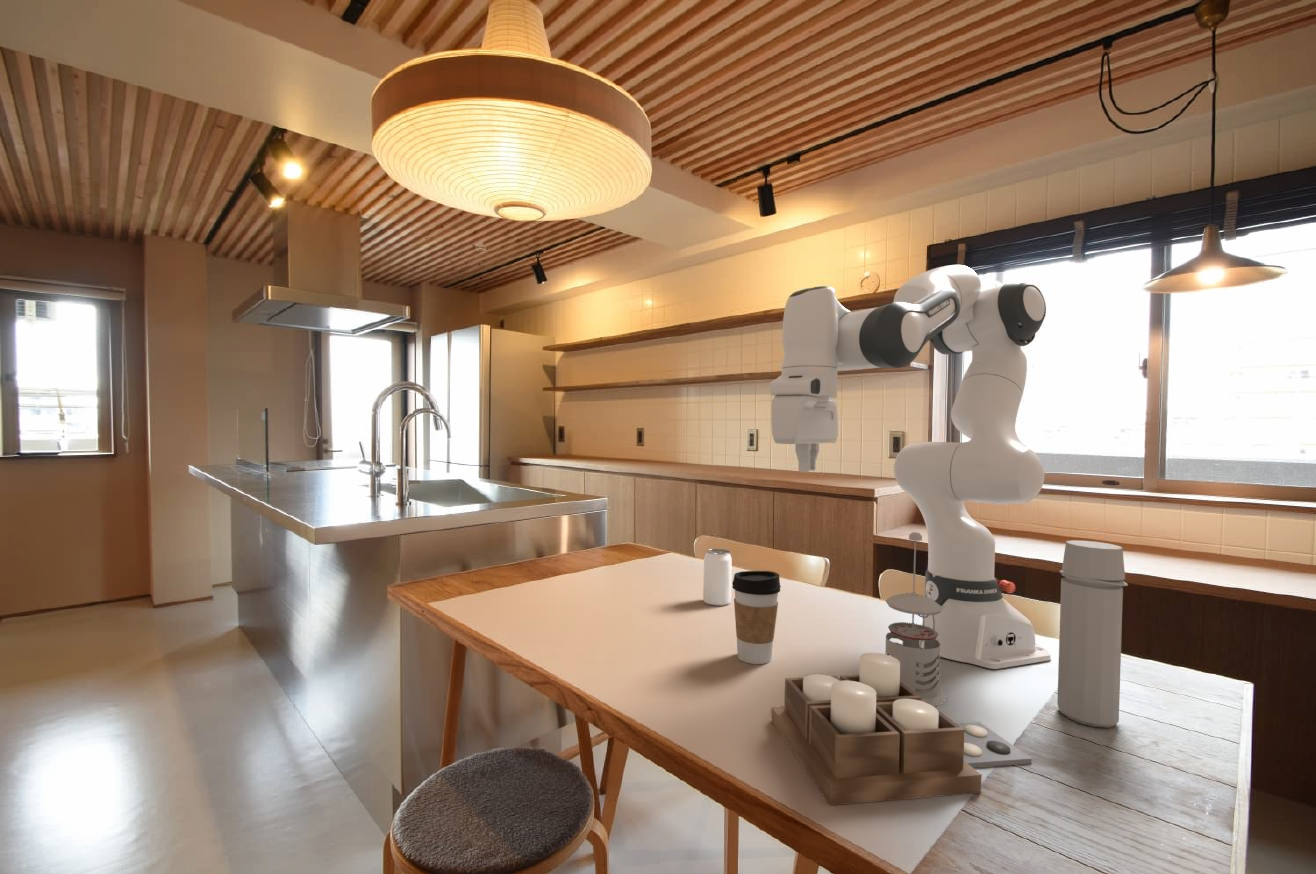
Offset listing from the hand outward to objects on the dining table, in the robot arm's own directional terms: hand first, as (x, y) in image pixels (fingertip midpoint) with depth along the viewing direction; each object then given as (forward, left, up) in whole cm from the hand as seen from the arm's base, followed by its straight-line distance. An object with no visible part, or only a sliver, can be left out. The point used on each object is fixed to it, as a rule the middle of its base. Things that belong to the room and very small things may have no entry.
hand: (806, 471), depth 94 cm
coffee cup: (+5, -9, -34) cm, 35 cm away
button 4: (-3, +26, -31) cm, 41 cm away
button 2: (+5, +26, -29) cm, 39 cm away
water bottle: (-37, +17, -34) cm, 53 cm away
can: (+3, -42, -34) cm, 54 cm away
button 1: (+5, +18, -31) cm, 37 cm away
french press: (-16, +6, -34) cm, 38 cm away
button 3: (-3, +18, -29) cm, 34 cm away
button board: (+1, +22, -34) cm, 40 cm away
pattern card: (-14, +22, -34) cm, 43 cm away
